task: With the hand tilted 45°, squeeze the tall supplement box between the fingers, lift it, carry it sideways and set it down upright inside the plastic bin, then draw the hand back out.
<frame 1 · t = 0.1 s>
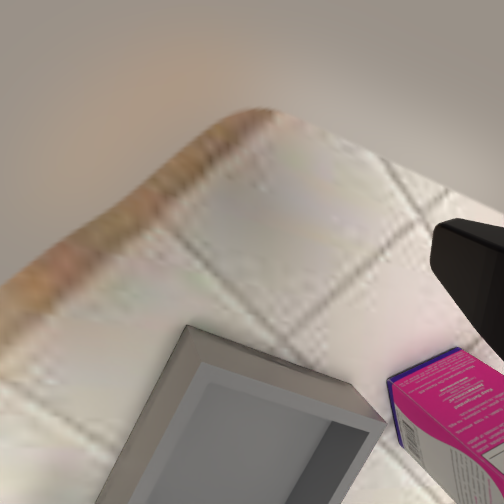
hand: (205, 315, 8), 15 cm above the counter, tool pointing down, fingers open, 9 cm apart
bin: (230, 440, 28), on the counter
supplement box: (426, 392, 32), on the counter
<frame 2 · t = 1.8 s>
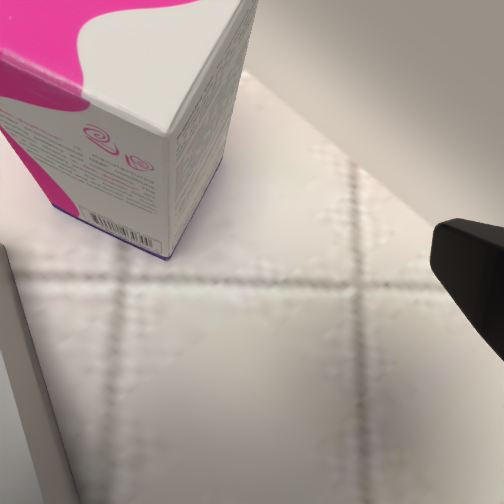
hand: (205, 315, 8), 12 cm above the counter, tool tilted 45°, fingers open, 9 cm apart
supplement box: (140, 180, 21), on the counter
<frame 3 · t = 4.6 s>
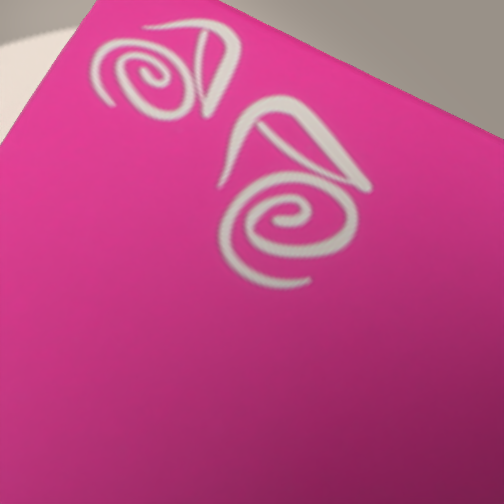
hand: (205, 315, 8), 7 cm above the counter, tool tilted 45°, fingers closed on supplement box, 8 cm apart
supplement box: (203, 383, 14), on the counter, touching gripper
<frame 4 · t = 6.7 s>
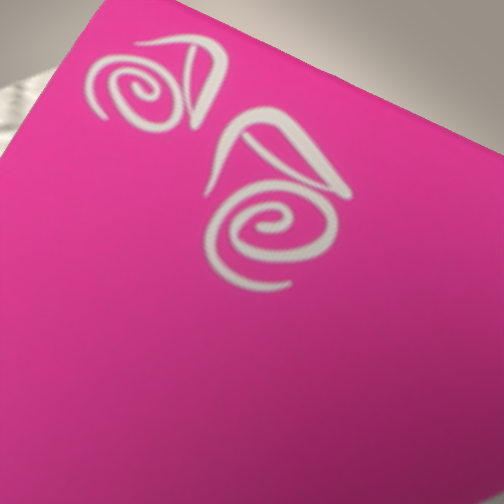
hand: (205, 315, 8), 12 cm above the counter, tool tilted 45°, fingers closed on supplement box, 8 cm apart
supplement box: (209, 380, 14), point 5 cm above the counter, touching gripper
when the fingers open (9 cm above the counter, at t = 8.7 s): supplement box stays where it is, resting on bin.
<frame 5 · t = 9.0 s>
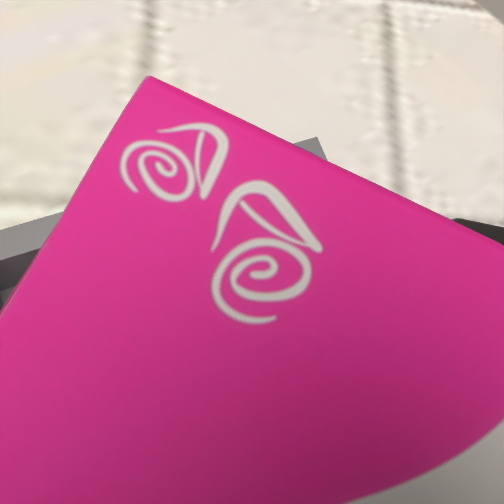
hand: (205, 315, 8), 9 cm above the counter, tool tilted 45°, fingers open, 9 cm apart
bin: (199, 380, 16), on the counter
supplement box: (202, 383, 15), point 1 cm above the counter, touching bin
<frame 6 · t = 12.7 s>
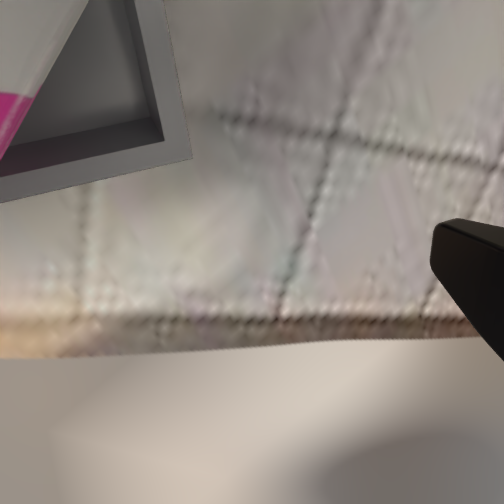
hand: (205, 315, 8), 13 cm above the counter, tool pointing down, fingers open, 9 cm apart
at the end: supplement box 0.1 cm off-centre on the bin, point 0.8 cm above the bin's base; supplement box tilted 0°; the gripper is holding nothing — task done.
